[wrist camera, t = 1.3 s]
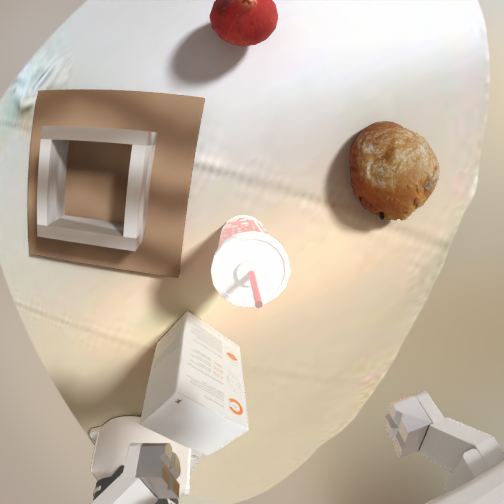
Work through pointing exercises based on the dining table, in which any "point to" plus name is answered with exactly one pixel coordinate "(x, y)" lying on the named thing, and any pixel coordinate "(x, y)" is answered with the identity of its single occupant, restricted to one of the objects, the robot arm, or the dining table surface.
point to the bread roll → (392, 170)
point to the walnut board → (112, 177)
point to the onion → (244, 20)
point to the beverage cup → (249, 263)
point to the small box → (196, 388)
